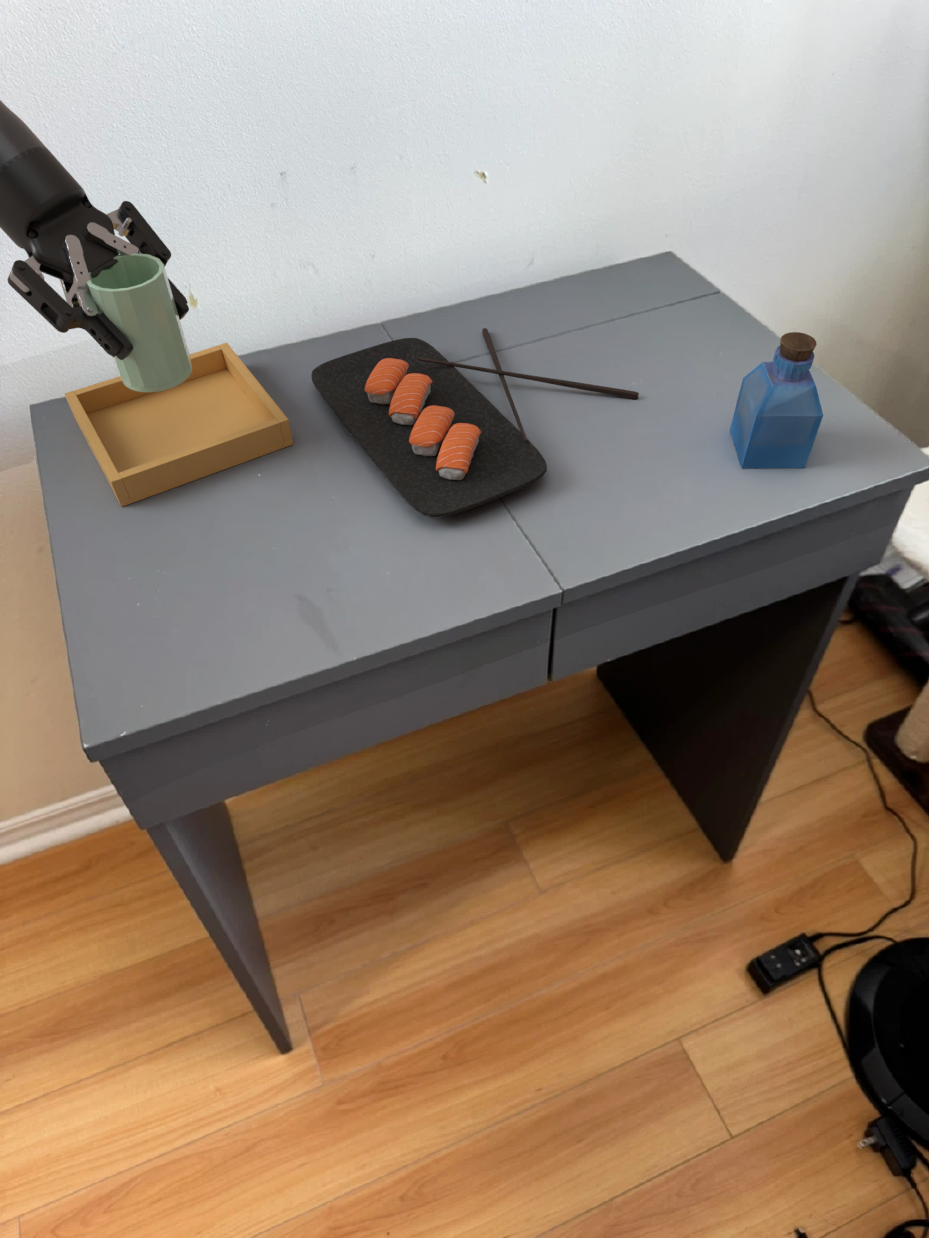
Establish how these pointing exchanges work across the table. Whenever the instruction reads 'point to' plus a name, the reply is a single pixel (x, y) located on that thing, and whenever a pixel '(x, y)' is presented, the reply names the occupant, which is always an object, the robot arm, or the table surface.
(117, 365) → the teacup
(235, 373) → the tray
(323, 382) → the sushi plate
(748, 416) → the perfume bottle
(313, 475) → the table surface
